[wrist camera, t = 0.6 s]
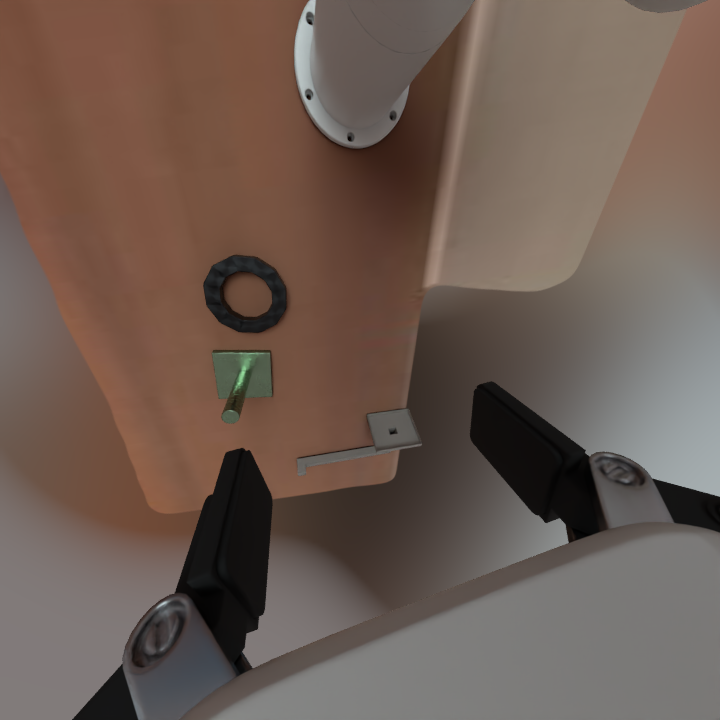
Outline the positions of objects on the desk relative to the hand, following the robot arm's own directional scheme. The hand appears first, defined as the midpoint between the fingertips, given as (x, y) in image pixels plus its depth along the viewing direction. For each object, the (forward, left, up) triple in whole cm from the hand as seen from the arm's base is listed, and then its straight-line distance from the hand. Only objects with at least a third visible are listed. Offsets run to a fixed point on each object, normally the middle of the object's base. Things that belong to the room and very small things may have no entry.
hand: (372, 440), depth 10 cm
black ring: (+1, -9, -31) cm, 32 cm away
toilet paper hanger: (+29, +9, -31) cm, 43 cm away
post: (+14, -10, -31) cm, 35 cm away
